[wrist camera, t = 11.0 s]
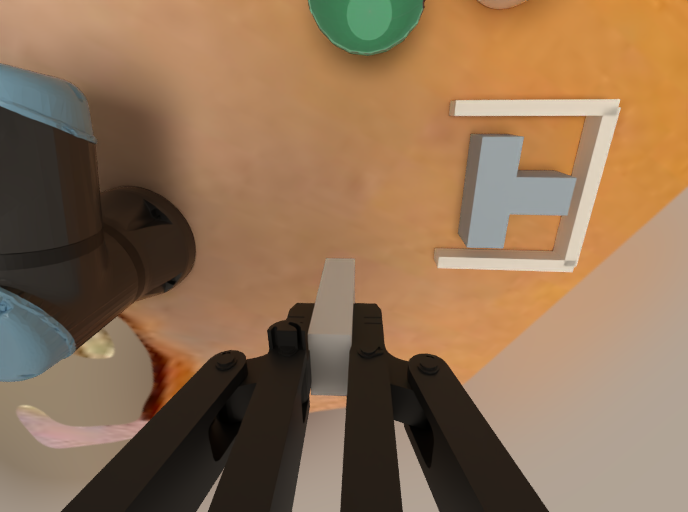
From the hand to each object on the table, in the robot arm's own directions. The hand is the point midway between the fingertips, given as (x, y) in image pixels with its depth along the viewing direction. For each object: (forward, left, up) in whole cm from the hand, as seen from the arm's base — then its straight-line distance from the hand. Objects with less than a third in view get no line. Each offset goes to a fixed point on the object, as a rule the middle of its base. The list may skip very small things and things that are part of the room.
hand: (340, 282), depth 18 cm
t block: (+17, 0, -27) cm, 31 cm away
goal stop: (+18, 0, -27) cm, 32 cm away
